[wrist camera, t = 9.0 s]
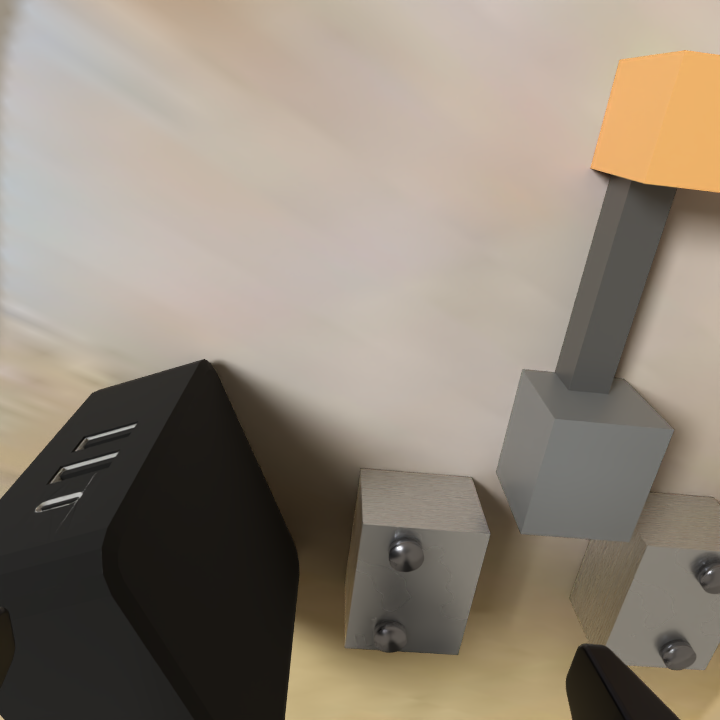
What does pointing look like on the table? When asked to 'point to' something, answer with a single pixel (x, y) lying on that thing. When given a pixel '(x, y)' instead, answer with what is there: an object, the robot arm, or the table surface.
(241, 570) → the electronic device
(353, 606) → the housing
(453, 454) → the table surface
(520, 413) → the orange and grey dumbbell
